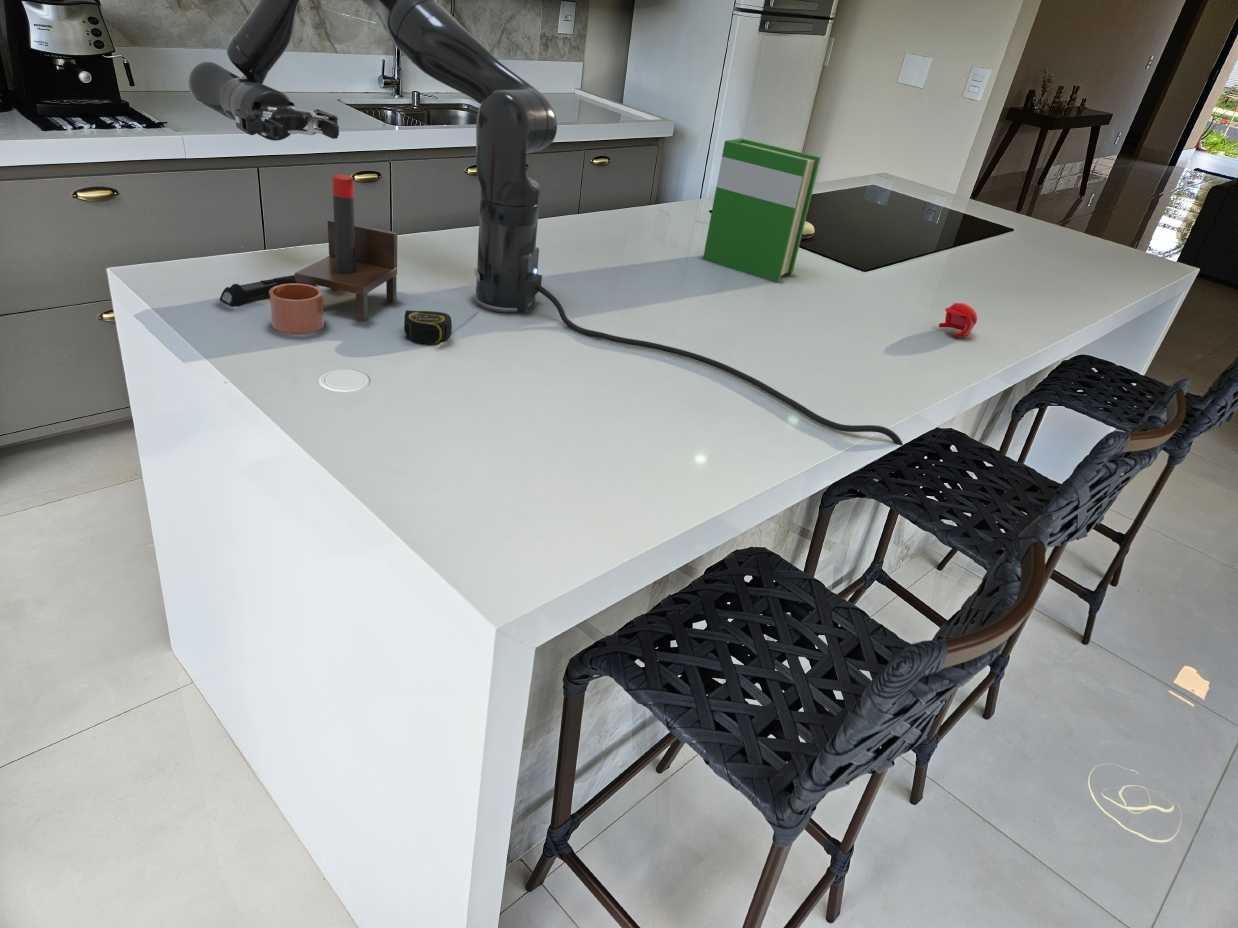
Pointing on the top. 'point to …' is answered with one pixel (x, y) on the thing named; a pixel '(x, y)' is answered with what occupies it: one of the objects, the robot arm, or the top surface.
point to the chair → (358, 266)
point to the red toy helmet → (960, 319)
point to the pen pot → (296, 308)
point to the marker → (344, 223)
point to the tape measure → (427, 326)
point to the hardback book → (760, 208)
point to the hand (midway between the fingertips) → (308, 132)
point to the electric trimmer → (252, 290)
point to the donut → (807, 230)
